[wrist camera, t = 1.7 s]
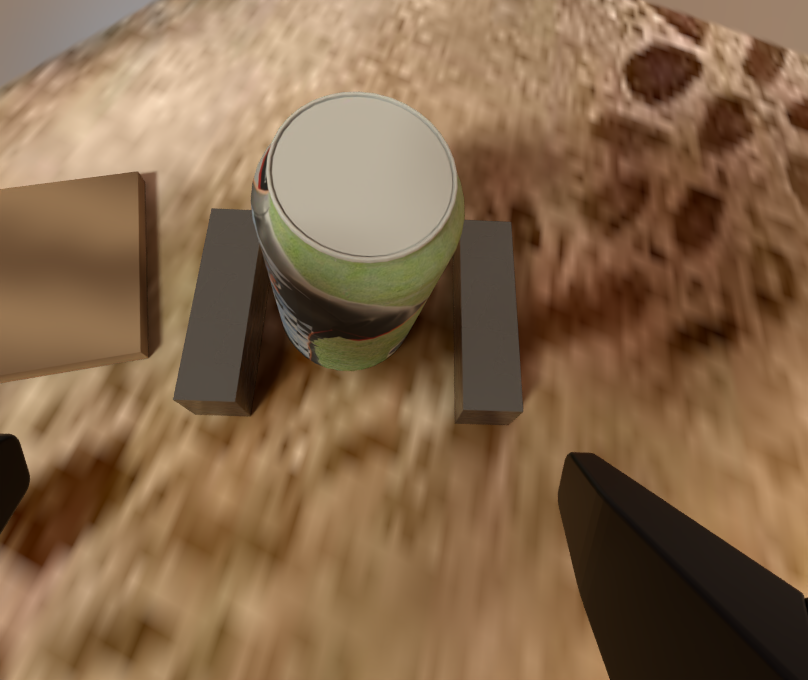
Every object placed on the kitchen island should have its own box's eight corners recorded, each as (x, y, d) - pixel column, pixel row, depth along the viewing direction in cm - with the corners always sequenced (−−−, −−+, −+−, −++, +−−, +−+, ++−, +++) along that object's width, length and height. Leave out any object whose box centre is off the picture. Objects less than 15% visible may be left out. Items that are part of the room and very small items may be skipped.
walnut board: (148, 358, 23) (140, 351, 22) (-92, 398, 22) (-108, 393, 21) (144, 181, 26) (137, 171, 26) (-61, 209, 25) (-75, 198, 25)
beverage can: (338, 241, 26) (305, 10, 14) (459, 319, 24) (526, 131, 13) (255, 333, 23) (141, 147, 12) (382, 424, 22) (383, 308, 11)
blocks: (508, 425, 22) (523, 411, 20) (195, 414, 22) (172, 399, 20) (499, 250, 26) (511, 221, 23) (227, 238, 25) (211, 208, 23)
